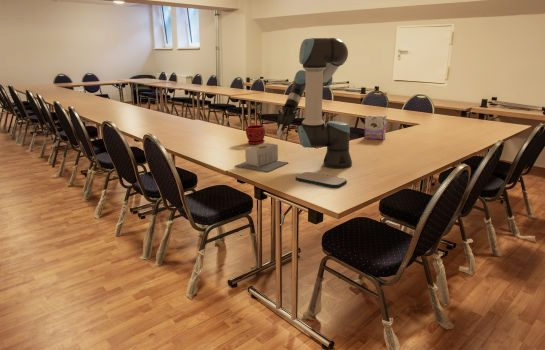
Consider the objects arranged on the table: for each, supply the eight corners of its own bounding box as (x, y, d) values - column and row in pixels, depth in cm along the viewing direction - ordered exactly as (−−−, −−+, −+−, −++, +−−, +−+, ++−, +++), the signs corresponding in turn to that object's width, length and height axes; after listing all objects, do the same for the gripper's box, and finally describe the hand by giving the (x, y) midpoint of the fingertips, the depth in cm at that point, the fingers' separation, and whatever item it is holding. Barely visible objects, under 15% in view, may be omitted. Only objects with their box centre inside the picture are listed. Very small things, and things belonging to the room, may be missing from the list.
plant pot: (252, 141, 272) (251, 124, 269) (268, 142, 266) (268, 125, 263) (242, 144, 261) (241, 127, 258) (259, 146, 255) (258, 128, 252)
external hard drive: (293, 181, 182) (293, 177, 182) (306, 175, 191) (306, 171, 190) (337, 190, 168) (337, 185, 168) (349, 183, 177) (349, 179, 176)
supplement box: (278, 144, 213) (257, 150, 201) (278, 160, 216) (258, 166, 204) (265, 142, 219) (244, 147, 207) (265, 158, 222) (245, 164, 210)
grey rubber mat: (288, 163, 211) (288, 162, 211) (268, 172, 196) (268, 171, 195) (256, 158, 223) (256, 157, 223) (234, 166, 207) (234, 165, 207)
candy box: (385, 138, 268) (387, 115, 264) (383, 140, 264) (384, 116, 259) (366, 137, 275) (367, 114, 271) (363, 138, 271) (364, 115, 266)
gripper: (304, 106, 228) (290, 139, 220) (285, 105, 235) (271, 137, 227) (299, 98, 222) (285, 132, 214) (280, 98, 229) (266, 130, 221)
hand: (278, 134), depth 220 cm, fingers closed
